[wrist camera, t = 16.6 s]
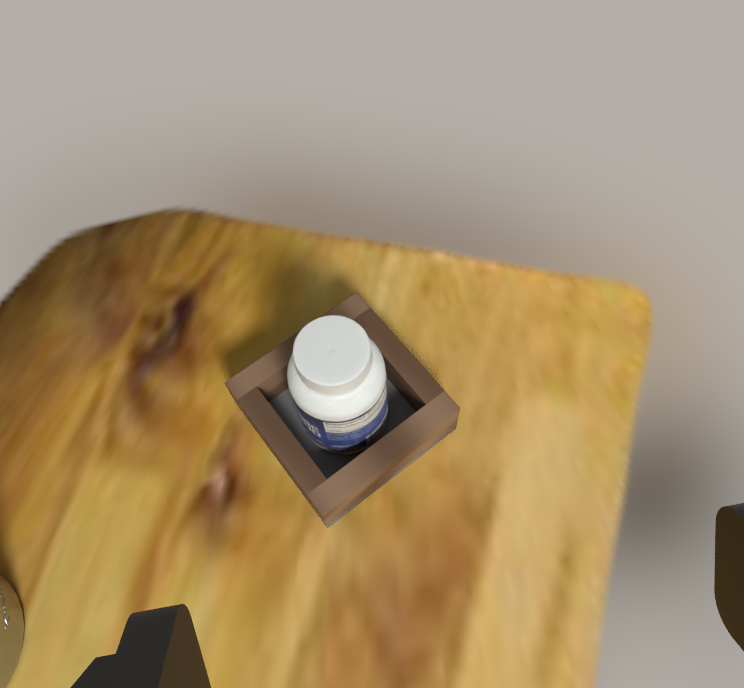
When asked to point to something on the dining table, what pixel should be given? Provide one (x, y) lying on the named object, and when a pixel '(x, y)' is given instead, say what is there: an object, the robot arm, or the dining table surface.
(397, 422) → the square tray
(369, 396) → the pill bottle
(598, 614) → the dining table surface
